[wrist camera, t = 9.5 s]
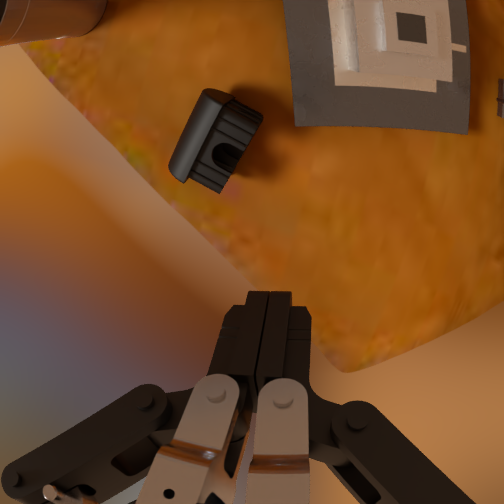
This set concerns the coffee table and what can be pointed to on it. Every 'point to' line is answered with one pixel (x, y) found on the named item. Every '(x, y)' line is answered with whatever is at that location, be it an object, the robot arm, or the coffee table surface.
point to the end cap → (213, 139)
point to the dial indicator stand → (501, 99)
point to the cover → (399, 37)
